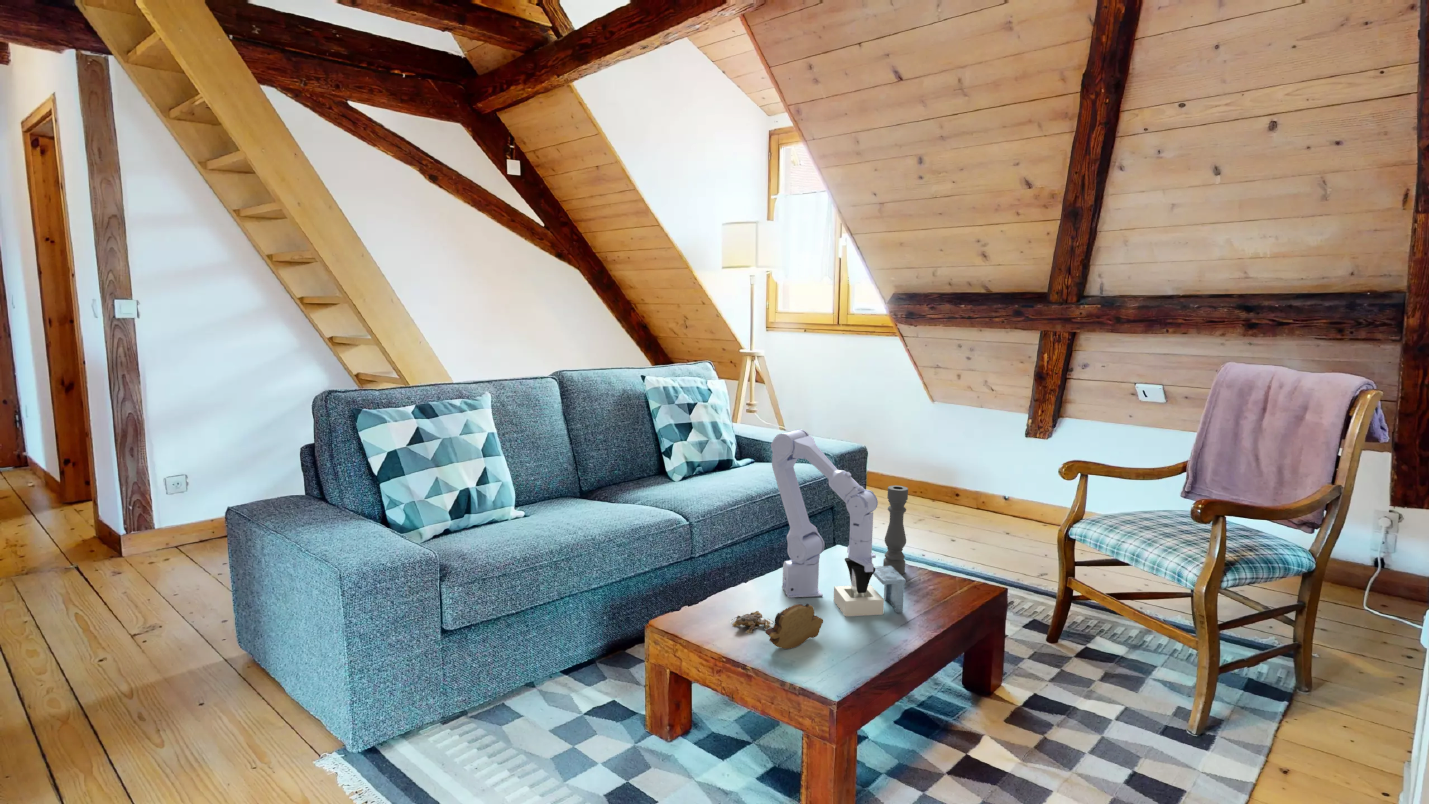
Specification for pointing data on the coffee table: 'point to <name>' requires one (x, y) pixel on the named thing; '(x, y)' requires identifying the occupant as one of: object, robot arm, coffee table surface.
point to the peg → (855, 588)
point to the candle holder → (896, 529)
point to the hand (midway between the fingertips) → (858, 589)
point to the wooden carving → (794, 626)
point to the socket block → (858, 602)
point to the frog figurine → (751, 621)
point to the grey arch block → (891, 585)
